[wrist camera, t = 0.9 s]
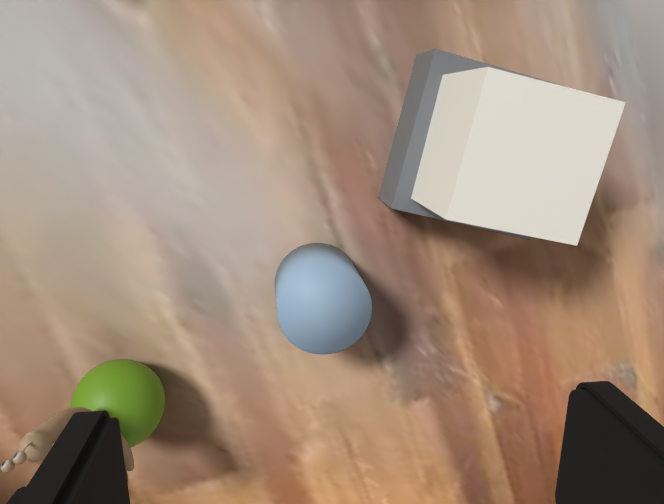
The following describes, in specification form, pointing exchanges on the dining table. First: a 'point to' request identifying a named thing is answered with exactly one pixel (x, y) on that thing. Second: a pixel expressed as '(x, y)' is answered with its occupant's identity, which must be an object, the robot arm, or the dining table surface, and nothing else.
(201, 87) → the dining table surface
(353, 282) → the pale blue rounded part
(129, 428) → the snail figurine
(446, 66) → the tower base
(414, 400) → the dining table surface
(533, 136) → the tower block
